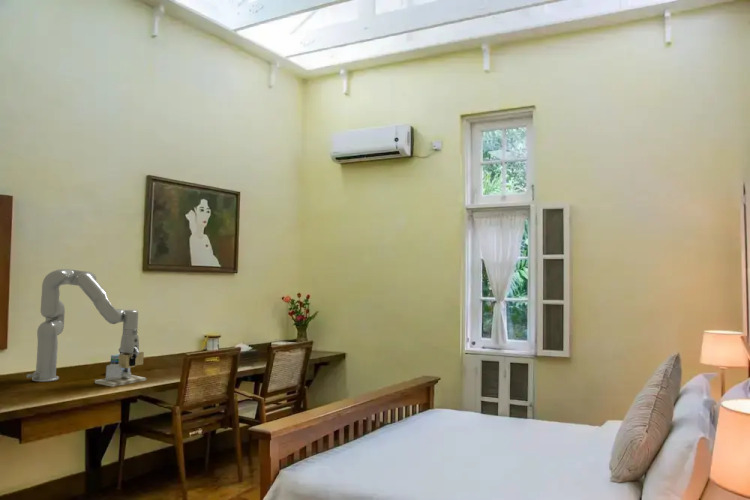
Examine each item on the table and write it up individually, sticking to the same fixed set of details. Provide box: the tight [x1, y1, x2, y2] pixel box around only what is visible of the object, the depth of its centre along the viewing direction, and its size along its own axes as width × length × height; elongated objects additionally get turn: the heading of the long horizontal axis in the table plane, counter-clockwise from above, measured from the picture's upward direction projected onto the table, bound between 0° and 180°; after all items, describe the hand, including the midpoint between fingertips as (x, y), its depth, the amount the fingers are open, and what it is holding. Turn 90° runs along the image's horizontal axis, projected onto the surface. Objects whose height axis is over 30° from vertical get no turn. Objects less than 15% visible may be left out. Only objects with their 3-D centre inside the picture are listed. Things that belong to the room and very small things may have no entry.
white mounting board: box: [94, 374, 147, 388], centre depth 324 cm, size 22×14×2 cm, turn 153°
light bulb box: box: [109, 353, 131, 372], centre depth 348 cm, size 11×7×11 cm, turn 168°
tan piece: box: [118, 351, 145, 369], centre depth 331 cm, size 14×6×7 cm, turn 153°
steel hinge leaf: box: [104, 363, 132, 382], centre depth 323 cm, size 15×6×10 cm, turn 153°
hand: (128, 364), depth 328 cm, fingers closed on tan piece, 6 cm apart
